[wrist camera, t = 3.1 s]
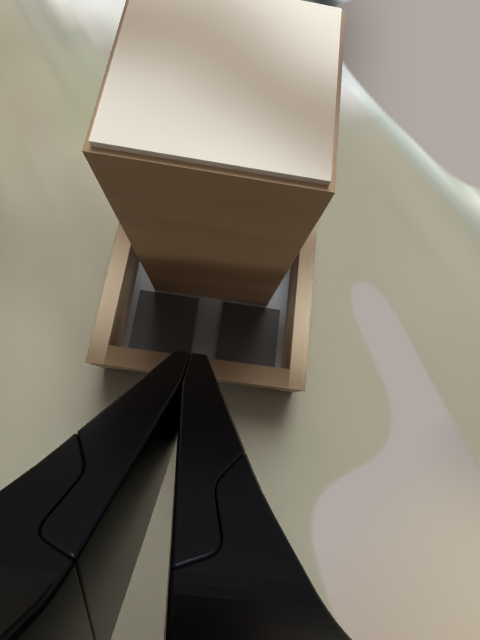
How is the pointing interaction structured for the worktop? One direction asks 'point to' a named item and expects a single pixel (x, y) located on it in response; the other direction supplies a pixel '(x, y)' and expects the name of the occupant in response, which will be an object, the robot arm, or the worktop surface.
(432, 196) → the worktop surface
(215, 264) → the beige rectangular box
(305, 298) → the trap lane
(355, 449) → the worktop surface
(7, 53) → the worktop surface
